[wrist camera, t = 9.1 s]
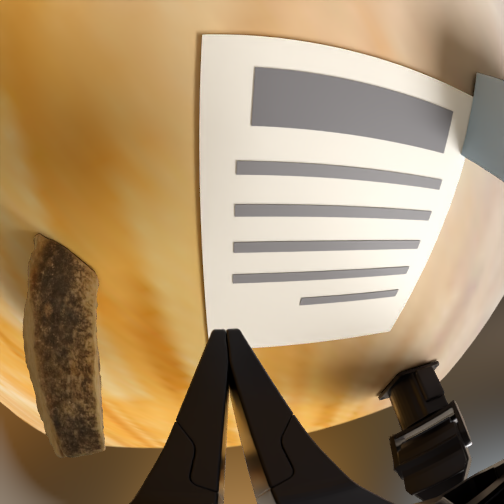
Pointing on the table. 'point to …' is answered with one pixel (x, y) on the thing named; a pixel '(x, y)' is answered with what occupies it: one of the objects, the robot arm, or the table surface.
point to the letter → (319, 186)
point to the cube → (486, 126)
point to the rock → (64, 348)
